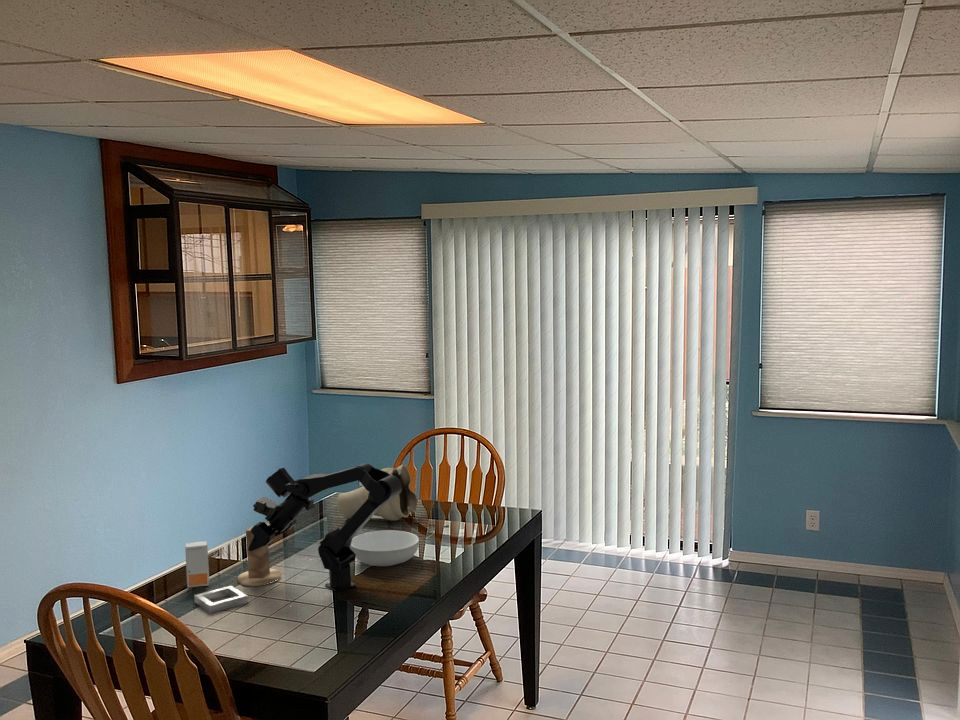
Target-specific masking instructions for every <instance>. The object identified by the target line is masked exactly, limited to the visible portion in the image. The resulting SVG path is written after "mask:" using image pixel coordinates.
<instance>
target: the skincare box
mask: <svg viewBox="0 0 960 720" xmlns="http://www.w3.org/2000/svg"><path fill="white" fill-rule="evenodd" d="M208 547H209V546H208V541H207V540H205V541H195V542H186V543H185V548H184V549H185V567H186V569H185V570H186V586H187V587H186V588H188V589H189V588H195V587H204V586H205V587H206V586H207V587H209V586H210V568H209V551H208Z"/></svg>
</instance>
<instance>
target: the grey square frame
mask: <svg viewBox="0 0 960 720" xmlns="http://www.w3.org/2000/svg"><path fill="white" fill-rule="evenodd" d="M228 596H229V598H226V599H223V600H219V601H214V602H213V600H217V599H220V598H224V597H228ZM193 598H194V603H195V604H196V605H198V606H200V607H201V608H203V610H205V611H207V612H208V613H209V614H214V613H216V612H220V611H224V610H226V609H231V608H234V607H238V606H241V605H245V604H248V603H249V600H248V598H249V597H248V595H247V594H245V593H244V592H242V591H240V590H239V589H237V588H236V587H234V586H233V585H228V586H223V587H219V588H216V589H213V590H208V591H205V592H201V593H197V594H194V596H193ZM247 602H248V603H247Z"/></svg>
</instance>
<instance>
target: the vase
mask: <svg viewBox="0 0 960 720" xmlns="http://www.w3.org/2000/svg"><path fill="white" fill-rule="evenodd" d="M381 470H382V471H385V472H387V473H389V474H390V475H394V476H396V477H398V478H399V480H400V481H401V484H402V491H401V492H400V493H399V494H398V495H397V496H395V497H394V498H393V499H391V500H390V501H388V502H387V503H385V504H384V505H383V506H381V507H380V508H379V509H378V511H377V512H376V513H375V514H374V515H373V516H377V517H381V518H383V519H385V520H387V521H395V522H396V521H399V520H400V519H402V518H408V517H409V516H410V513H416V512H417V509H418V498H417V494H416V493H415V491H413V489H411V483H412V479H411V478H412V477H411V475H410V472H409V470H408V468H407V467H406V466H405V465H404V464H400V465H399V466H398V467H396V468H395V467H394V468H393V467H385V468H382V469H381ZM368 494H369V491H367V490H366V489H365V487H364V486H363V485H362V486H361V487H357V488H355V489H353V490H351V491H348V492H347V491H346V492H342V493H339V494H338V496H337V507H338V510H339V513H340V515H341V516H342V517H343V519H345V520H349V519H350V518H351V517H352V516H353V515H354V514H355V513H356V511H357V510H358V509H359V508H360V507H361V506H362V505H363V504H364V502H365V501H366V500H367V498H368Z"/></svg>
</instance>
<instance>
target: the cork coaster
mask: <svg viewBox="0 0 960 720" xmlns="http://www.w3.org/2000/svg"><path fill="white" fill-rule="evenodd" d="M280 576H281V571H280V570H278V569H276V568H270V573H269V574H268V575H267V576H266V577H264V578H249V576H248V570H247V571H244V572H242V573H240V574H239V575H238V577H237V580H238V583H239V584H240V585H242V586H244V587H245V586H246V587H259V586H258V585H262V586H265V585H264V584H267V583H270V582H272V581H275V580H277V579H279V578H280ZM280 579H281V578H280ZM280 579H279V580H280ZM267 585H268V584H267Z"/></svg>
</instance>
